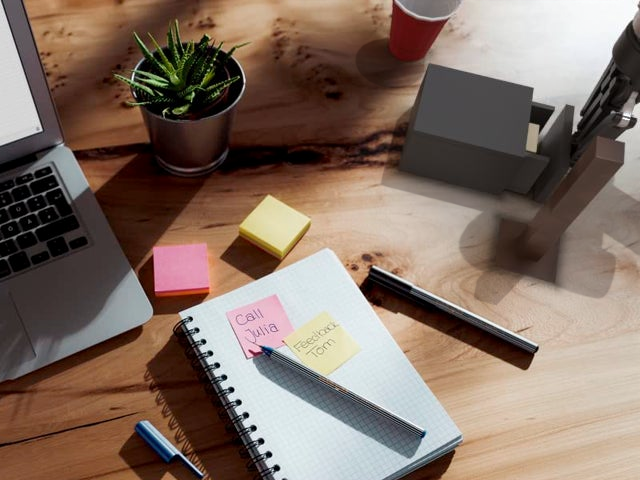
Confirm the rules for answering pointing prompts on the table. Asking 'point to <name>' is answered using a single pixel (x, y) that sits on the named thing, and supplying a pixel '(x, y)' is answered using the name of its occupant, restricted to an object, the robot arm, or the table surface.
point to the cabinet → (467, 129)
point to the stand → (558, 213)
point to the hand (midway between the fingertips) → (561, 168)
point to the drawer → (546, 153)
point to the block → (532, 138)
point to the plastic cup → (418, 25)
